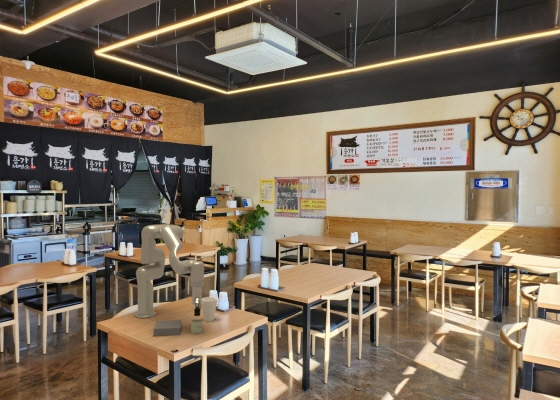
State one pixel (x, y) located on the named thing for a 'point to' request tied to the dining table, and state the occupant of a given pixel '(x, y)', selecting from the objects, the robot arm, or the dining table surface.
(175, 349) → the dining table surface
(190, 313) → the dining table surface
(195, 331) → the cube
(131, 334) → the dining table surface
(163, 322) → the block
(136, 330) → the dining table surface
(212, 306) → the foam cup
